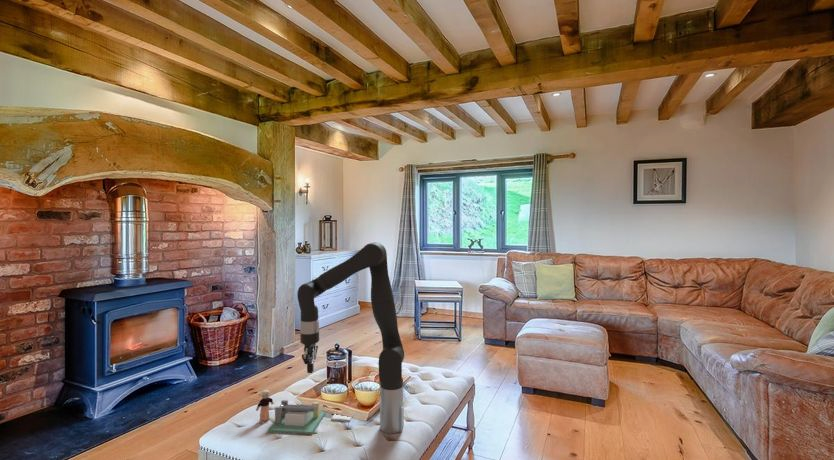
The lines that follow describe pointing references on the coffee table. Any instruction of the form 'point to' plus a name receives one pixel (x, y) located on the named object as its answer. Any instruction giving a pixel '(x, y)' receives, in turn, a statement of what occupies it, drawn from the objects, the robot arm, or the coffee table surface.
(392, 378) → the robot arm
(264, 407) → the grandmother figurine
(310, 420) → the board
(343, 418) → the external hard drive
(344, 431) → the coffee table surface
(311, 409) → the gray bar
